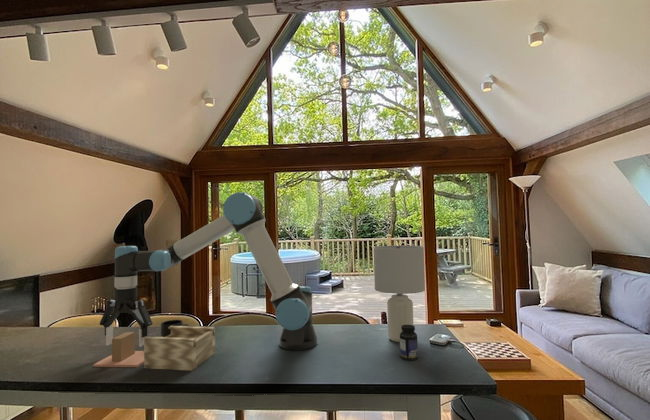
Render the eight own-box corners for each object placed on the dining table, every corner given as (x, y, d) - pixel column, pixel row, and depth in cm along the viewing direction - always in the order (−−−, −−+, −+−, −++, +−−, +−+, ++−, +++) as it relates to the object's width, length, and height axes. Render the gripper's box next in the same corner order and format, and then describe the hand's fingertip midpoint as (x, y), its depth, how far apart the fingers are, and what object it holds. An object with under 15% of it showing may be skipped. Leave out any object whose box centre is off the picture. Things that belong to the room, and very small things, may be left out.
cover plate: (159, 354, 137) (159, 329, 137) (137, 368, 123) (137, 341, 124) (118, 353, 138) (118, 329, 138) (93, 367, 124) (93, 341, 125)
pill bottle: (418, 355, 129) (417, 324, 129) (417, 361, 123) (416, 329, 124) (401, 353, 131) (400, 323, 131) (399, 359, 125) (398, 327, 126)
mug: (182, 350, 139) (182, 326, 139) (156, 348, 142) (156, 324, 142) (195, 343, 147) (194, 320, 147) (169, 342, 150) (169, 319, 150)
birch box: (215, 353, 135) (214, 326, 135) (192, 370, 119) (192, 340, 120) (171, 351, 138) (171, 325, 138) (144, 368, 122) (144, 338, 123)
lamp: (376, 347, 138) (374, 246, 140) (375, 331, 158) (373, 244, 160) (430, 348, 136) (427, 246, 137) (422, 332, 156) (419, 243, 158)
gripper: (162, 285, 135) (162, 342, 134) (104, 285, 139) (104, 340, 138) (149, 289, 128) (149, 349, 127) (88, 288, 132) (88, 347, 131)
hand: (125, 345), depth 133 cm, fingers open, 13 cm apart
